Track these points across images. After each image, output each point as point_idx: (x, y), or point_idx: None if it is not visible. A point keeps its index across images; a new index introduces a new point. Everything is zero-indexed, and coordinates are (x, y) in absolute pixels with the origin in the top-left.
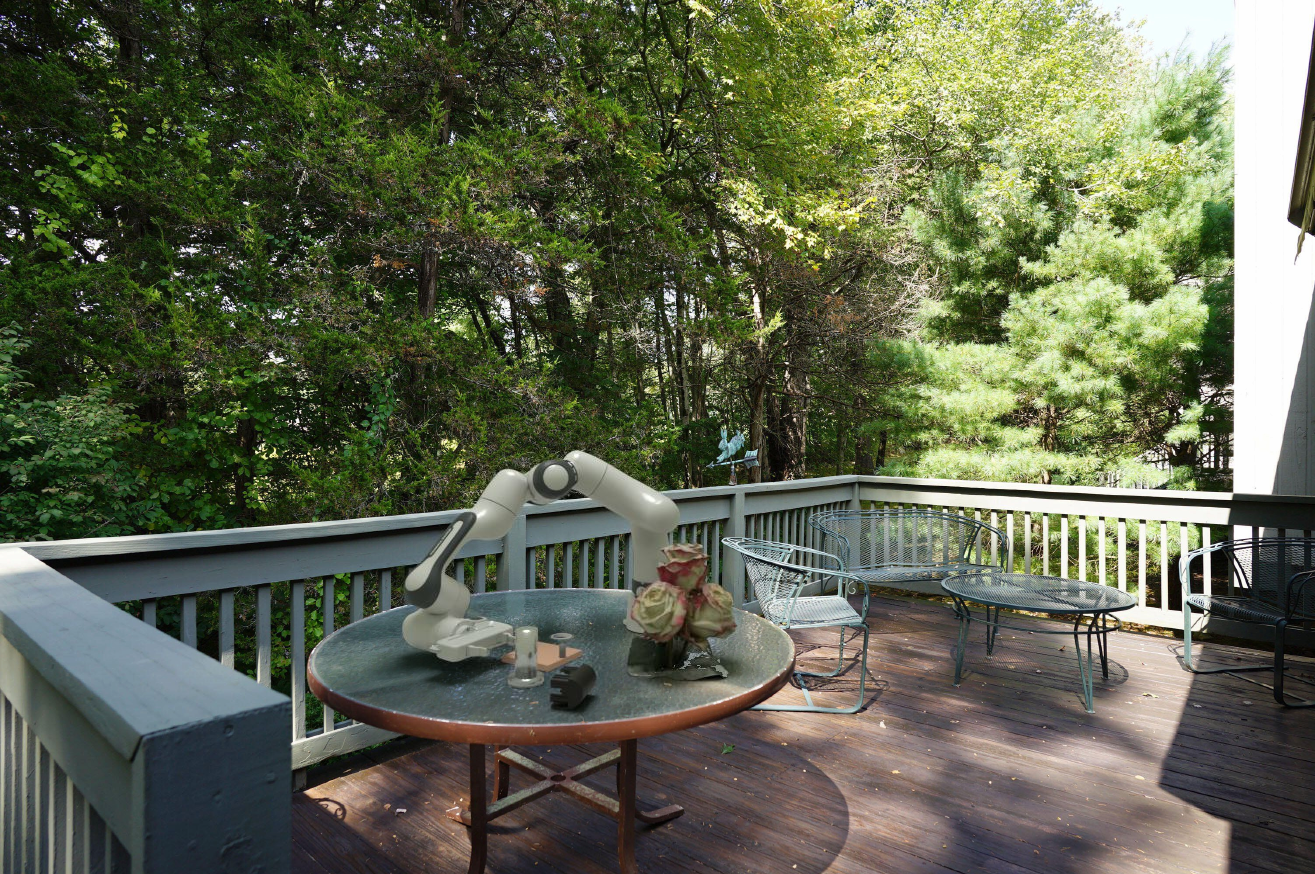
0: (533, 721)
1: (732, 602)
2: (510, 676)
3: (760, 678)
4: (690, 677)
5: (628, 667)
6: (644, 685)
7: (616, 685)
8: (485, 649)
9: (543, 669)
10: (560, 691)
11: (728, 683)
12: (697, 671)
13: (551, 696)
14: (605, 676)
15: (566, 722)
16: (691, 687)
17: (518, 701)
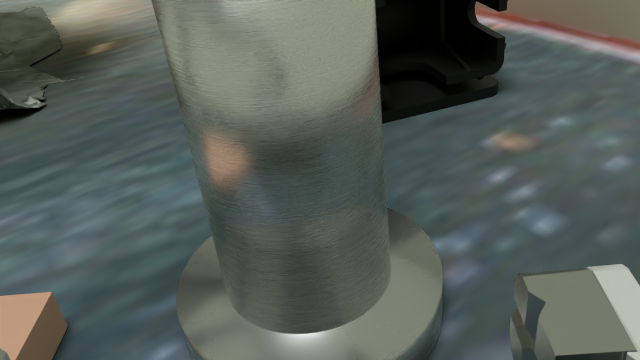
0: (632, 70)
1: None
2: (390, 331)
3: (7, 2)
4: (38, 37)
5: (5, 98)
6: (134, 64)
7: (165, 92)
8: (611, 266)
9: (49, 350)
10: (389, 93)
11: (57, 10)
12: (10, 26)
13: (504, 42)
14: (73, 142)
15: (539, 37)
16: (111, 24)
17: (564, 177)
